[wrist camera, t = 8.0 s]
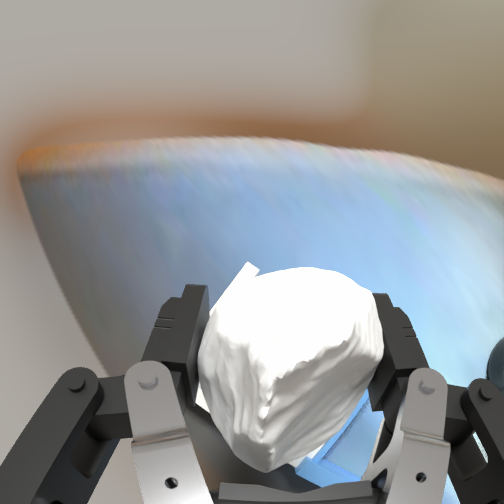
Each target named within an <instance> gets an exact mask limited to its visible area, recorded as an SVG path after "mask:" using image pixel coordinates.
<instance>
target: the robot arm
mask: <svg viewBox="0 0 504 504" xmlns="http://www.w3.org/2000/svg"><path fill="white" fill-rule="evenodd" d="M372 295H373V297H374V299H375V303H376V308H377V312H378V318H379V320H380V323H381V327H382V336H383V343H384V351H383V357H382V359H381V361H380V362H379V364H378V366H377V369H376V371H375V373H374V376H373V378H372V379H371V381H370V383H369V385H368V387H367V389H368V394H369V398H370V403H371V408H372V412H373V411H383V413H384V418H383V420H382V421H381V424H380V427H379V431H378V435H377V438H376V441H375V445H374V448H373V451H372V455H371V458H370V461H369V464H368V467H367V469H366V471H365V473H364V474H363V476H362V478H361V480H360V481H355V482H345V483H335V484H332V485H329V486H325V487H322V488H319V489H315V490H311V491H308V492H304V493H298V494H296V493H291V492H286V491H282V490H277V489H273V488H269V487H265V486H261V485H251V484H235V483H223V482H220V489H219V490H212V491H208V488H207V486H206V483H205V480H204V478H203V475H202V472H201V469H200V466H199V464H198V461H197V458H196V455H195V452H194V449H193V446H192V443H191V440H190V437H189V434H188V431H187V428H186V425H185V422H184V419H183V418H184V413H185V408H186V406H187V407H195V402H196V397H197V391H198V386H199V381H200V380H199V375H198V365H197V358H198V352H199V349H200V345H201V341H202V337H203V334H204V331H205V328H206V325H207V323H208V321H209V318H210V312H209V296H208V286H207V285H195V284H186V286H185V289H184V291H183V294H182V297H181V298H176V297H171V298H170V299H169V300H168V301H167V302H166V303H165V304H163V305H162V307H161V309H160V312H159V315H158V319H157V320H156V322H155V325H154V328H153V330H152V333H151V335H150V338H149V341H148V343H147V346H146V349H145V352H144V354H143V357H142V360H141V362H139V363H137V364H135V365H133V366H132V367H131V368H130V369H129V370H128V371H127V373H126V374H125V375H122V376H116V377H107V378H97V376H96V374H95V373H94V372H93V371H92V370H90V369H88V368H82V367H78V368H73V369H70V370H68V371H67V372H65V373H64V374H63V375H62V376H61V377H60V378H59V380H58V381H57V382H56V384H55V385H54V387H53V388H52V389H51V391H50V392H49V394H48V395H47V396H46V398H45V399H44V401H43V402H42V404H41V405H40V406H39V408H38V409H37V411H36V412H35V414H34V415H33V417H32V418H31V420H30V421H29V423H28V424H27V426H26V427H25V429H24V430H23V432H22V433H21V435H20V436H19V438H18V439H17V441H16V442H15V444H14V445H13V447H12V449H11V450H10V452H9V453H8V455H7V456H6V458H5V460H4V461H3V463H2V465H1V466H0V504H87V503H88V501H89V499H90V497H91V495H92V493H93V491H94V489H95V487H96V485H97V483H98V481H99V479H100V477H101V475H102V473H103V471H104V470H105V468H106V466H107V464H108V462H109V460H110V458H111V456H112V454H113V452H114V450H115V448H116V446H117V444H118V443H119V441H120V439H123V438H133V441H132V442H131V448H132V454H133V459H134V463H135V468H136V472H137V477H138V481H139V485H140V489H141V493H142V497H143V500H144V504H441V503H442V498H443V493H444V488H445V482H446V477H447V473H448V475H449V477H450V480H451V482H452V484H453V487H454V489H455V491H456V494H457V496H458V499H459V501H460V504H504V397H503V396H502V394H501V393H500V391H499V390H498V388H497V387H496V385H495V384H493V383H492V382H491V381H489V380H487V379H482V378H479V379H475V380H473V381H472V382H471V384H470V385H469V386H468V388H466V387H460V386H454V385H450V384H447V383H446V380H445V379H444V377H443V376H442V375H441V374H440V373H439V372H437V371H435V370H433V369H430V368H429V365H428V363H427V360H426V358H425V355H424V353H423V350H422V348H421V346H420V343H419V341H418V338H416V334H415V331H414V329H412V328H413V327H412V324H411V322H410V320H409V318H408V316H407V315H406V314H405V313H404V312H403V311H402V310H401V309H400V308H399V307H393V305H392V303H391V300H390V298H389V296H388V294H386V293H372ZM475 432H476V434H477V436H478V437H479V439H480V441H481V443H482V445H483V447H484V449H485V451H486V453H487V456H488V463H486V461H485V459H484V457H483V455H482V453H481V451H480V449H479V447H478V445H477V443H476V441H475V439H474V437H473V434H474V433H475Z"/></svg>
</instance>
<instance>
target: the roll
mask: <svg viewBox="0 0 504 504" xmlns="http://www.w3.org/2000/svg"><path fill="white" fill-rule="evenodd" d="M383 351H384V343H383V336H382V327H381V323H380V320H379V318H378V312H377V308H376V303H375V299H374V297H373V295H372V293H371V292H370V291H369V290H367V289H365V288H362V287H360V286H359V285H357V284H356V283H355V282H354V281H353V280H351V279H350V278H348V277H346V276H344V275H342V274H340V273H338V272H335V271H329V270H323V269H316V268H304V267H301V268H293V269H288V270H281V271H276V272H272V273H267V274H264V275H261V276H257V277H255V278H253V279H250V280H248V281H246V282H244V283H242V284H241V285H239V286H238V287H236V288H234V289H232V290H231V291H229V292H228V293H227V294H226V295H225V296H224V297H223V298H222V299H221V300H220V301H219V302H218V304H217V305H216V307H215V309H214V311H213V313H212V314H211V316H210V318H209V321H208V323H207V325H206V328H205V331H204V334H203V337H202V341H201V345H200V349H199V352H198V358H197V365H198V375H199V380H200V385H201V389H202V392H203V396H204V398H205V401H206V404H207V406H208V409H209V411H210V415H211V417H212V420H213V422H214V423H215V425H216V427H217V428H218V429H219V431H220V432H221V434H222V435H223V437H224V439H225V441H226V442H227V444H228V445H229V446H230V448H231V450H232V451H233V453H234V454H235V455H236V456H237V457H238V458H239V459H241V460H242V461H243V462H244V463H246V464H248V465H249V466H251V467H252V468H254V469H256V470H258V471H261V472H264V473H268V472H270V471H272V470H275V469H276V468H278V467H280V466H282V465H284V464H286V463H288V462H291V461H293V460H295V459H299V458H301V457H303V456H305V455H307V454H308V453H310V452H312V451H313V450H315V449H317V448H319V447H320V446H321V445H322V444H324V443H325V442H326V441H328V440H329V439H330V438H332V437H333V436H334V435H335V434H337V433H338V432H339V431H340V430H341V429H342V427H343V426H344V424H345V423H346V421H347V420H348V418H349V417H350V415H351V414H352V412H353V411H354V409H355V408H356V406H357V404H358V402H359V401H360V399H361V398H362V396H363V395H364V393H365V390H366V388H367V387H368V385H369V383H370V381H371V379H372V378H373V376H374V373H375V371H376V369H377V366H378V364H379V362H380V361H381V359H382V357H383Z"/></svg>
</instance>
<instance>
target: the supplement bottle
mask: <svg viewBox="0 0 504 504" xmlns="http://www.w3.org/2000/svg"><path fill="white" fill-rule="evenodd" d="M488 377H489V381H491V382H492V383H493V384H495V385H496V387H497V388H498V390H499V391H500V393H501V394H504V337H503V338H502V339H501V340H500V341H499V342H498V343H497V344H496V346H495V347H494V349H493V351H492V354H491V356H490V360H489V365H488Z"/></svg>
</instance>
